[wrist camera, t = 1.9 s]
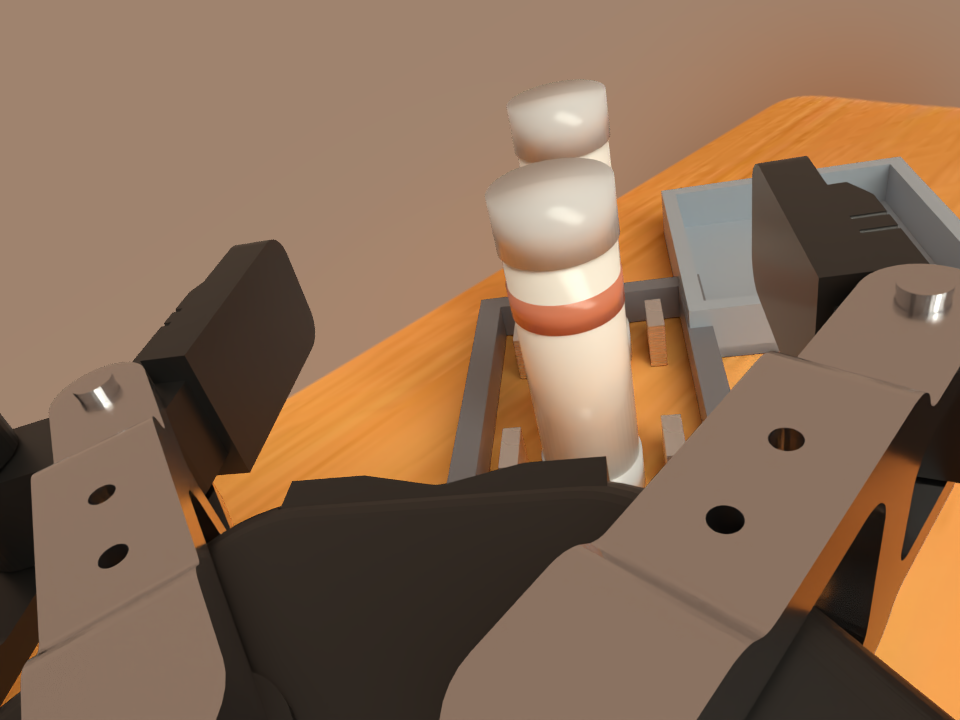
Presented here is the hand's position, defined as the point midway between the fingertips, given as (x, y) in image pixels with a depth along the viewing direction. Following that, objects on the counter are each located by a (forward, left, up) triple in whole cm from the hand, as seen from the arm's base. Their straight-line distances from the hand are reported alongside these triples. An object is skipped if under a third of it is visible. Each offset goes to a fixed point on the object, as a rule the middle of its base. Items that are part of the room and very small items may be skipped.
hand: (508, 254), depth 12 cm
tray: (+12, +26, -18) cm, 34 cm away
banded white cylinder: (0, +11, -18) cm, 21 cm away
